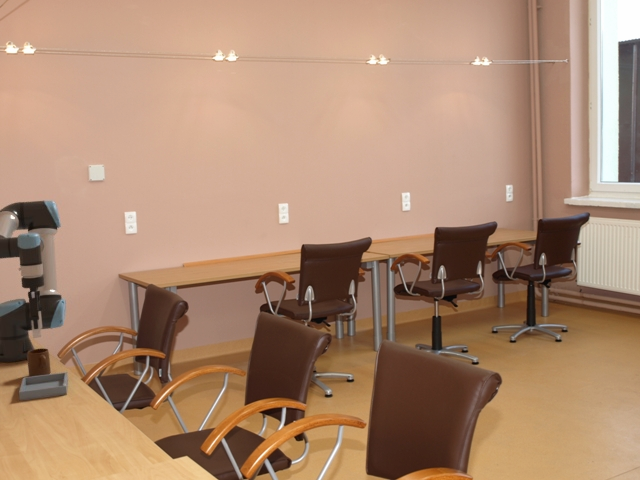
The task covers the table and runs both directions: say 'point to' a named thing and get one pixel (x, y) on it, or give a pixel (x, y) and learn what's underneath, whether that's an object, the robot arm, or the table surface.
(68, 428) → the table surface
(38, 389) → the tray
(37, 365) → the mug
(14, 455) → the table surface
